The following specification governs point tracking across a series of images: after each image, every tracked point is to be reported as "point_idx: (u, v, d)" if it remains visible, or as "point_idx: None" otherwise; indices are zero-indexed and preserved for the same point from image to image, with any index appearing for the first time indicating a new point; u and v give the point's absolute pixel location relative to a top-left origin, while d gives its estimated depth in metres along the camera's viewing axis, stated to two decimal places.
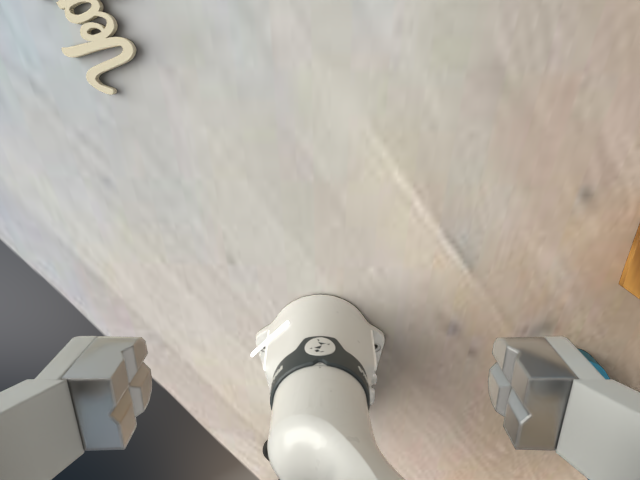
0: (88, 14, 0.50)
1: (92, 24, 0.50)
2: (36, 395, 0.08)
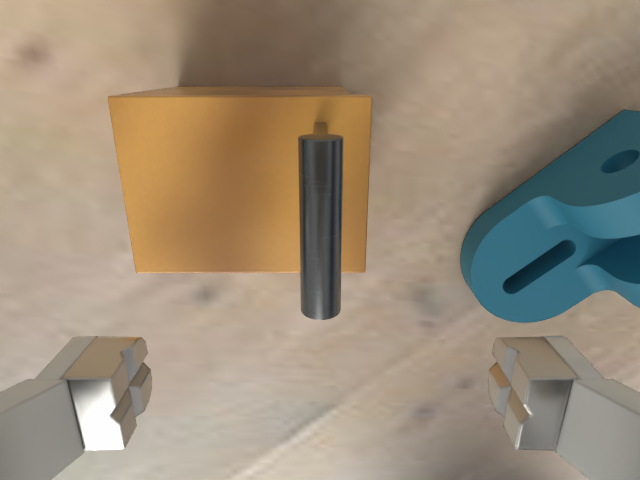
0: None
1: None
2: (36, 395, 0.08)
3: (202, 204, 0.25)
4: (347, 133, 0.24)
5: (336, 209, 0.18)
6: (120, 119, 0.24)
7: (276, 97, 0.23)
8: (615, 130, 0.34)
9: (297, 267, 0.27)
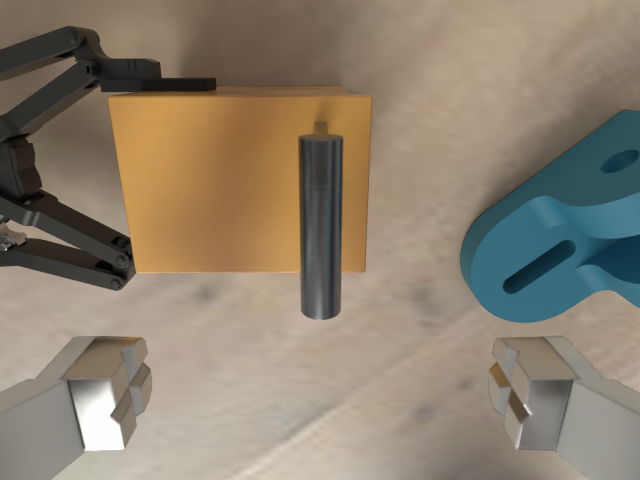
0: None
1: None
2: (36, 395, 0.08)
3: (202, 204, 0.25)
4: (347, 133, 0.24)
5: (336, 209, 0.18)
6: (120, 119, 0.24)
7: (276, 97, 0.23)
8: (615, 130, 0.34)
9: (297, 267, 0.27)
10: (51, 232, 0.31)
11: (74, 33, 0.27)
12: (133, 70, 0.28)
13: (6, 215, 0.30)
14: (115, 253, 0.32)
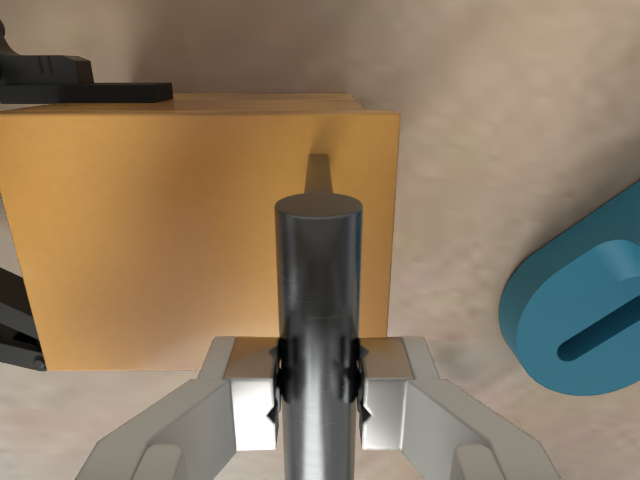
0: None
1: None
2: (206, 395, 0.08)
3: (139, 276, 0.17)
4: (361, 171, 0.15)
5: (348, 339, 0.10)
6: (3, 150, 0.15)
7: (248, 115, 0.15)
8: None
9: None
10: None
11: None
12: (48, 72, 0.19)
13: None
14: None
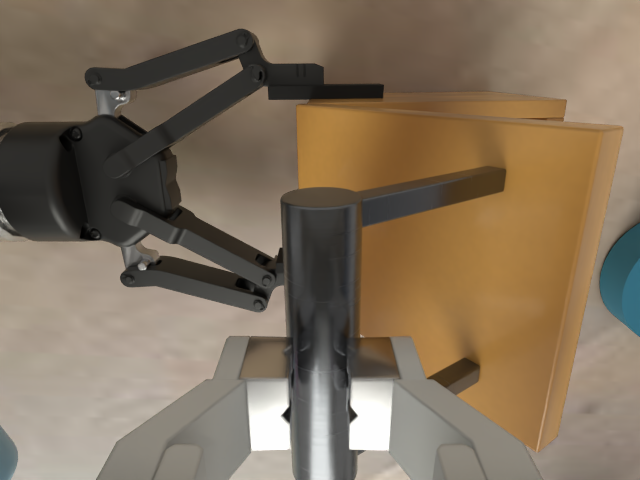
0: None
1: None
2: None
3: None
4: (541, 197, 0.12)
5: (317, 329, 0.10)
6: (302, 130, 0.21)
7: (440, 118, 0.15)
8: None
9: None
10: (195, 250, 0.29)
11: (246, 36, 0.24)
12: (302, 76, 0.26)
13: (152, 232, 0.28)
14: (261, 272, 0.29)
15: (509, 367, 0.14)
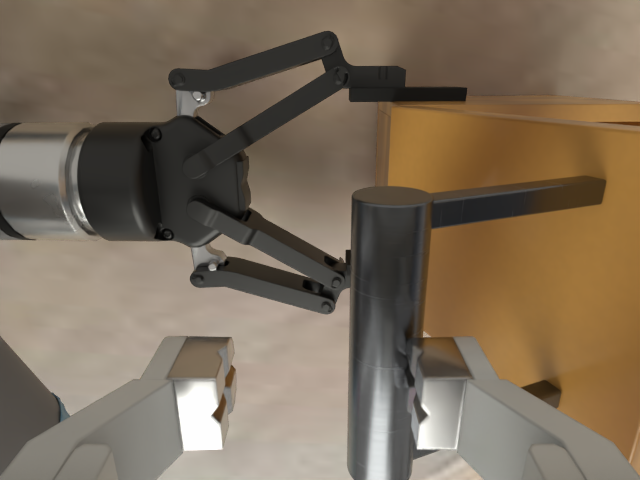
0: None
1: None
2: None
3: (436, 250, 0.20)
4: None
5: (377, 325, 0.10)
6: (395, 132, 0.21)
7: (537, 123, 0.14)
8: None
9: None
10: (267, 251, 0.29)
11: (332, 39, 0.25)
12: (383, 78, 0.26)
13: (226, 233, 0.28)
14: (332, 274, 0.29)
15: (594, 397, 0.13)
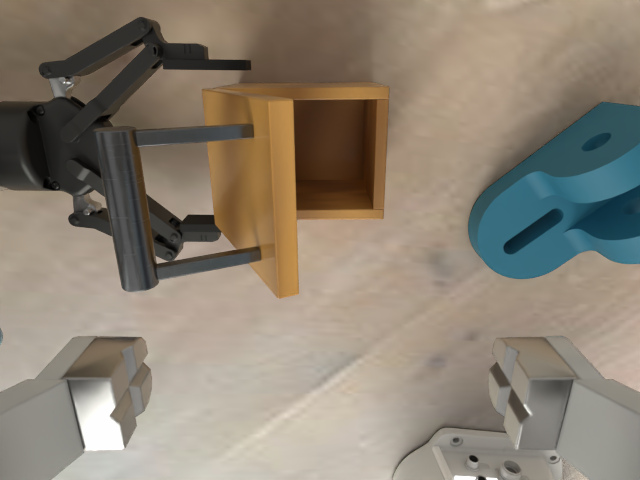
0: None
1: None
2: (36, 395, 0.08)
3: (224, 183, 0.30)
4: (261, 139, 0.22)
5: (111, 194, 0.20)
6: (205, 106, 0.32)
7: (237, 95, 0.24)
8: (594, 118, 0.42)
9: (253, 265, 0.27)
10: None
11: (144, 22, 0.34)
12: (188, 52, 0.36)
13: (94, 187, 0.38)
14: (171, 231, 0.40)
15: (266, 247, 0.24)
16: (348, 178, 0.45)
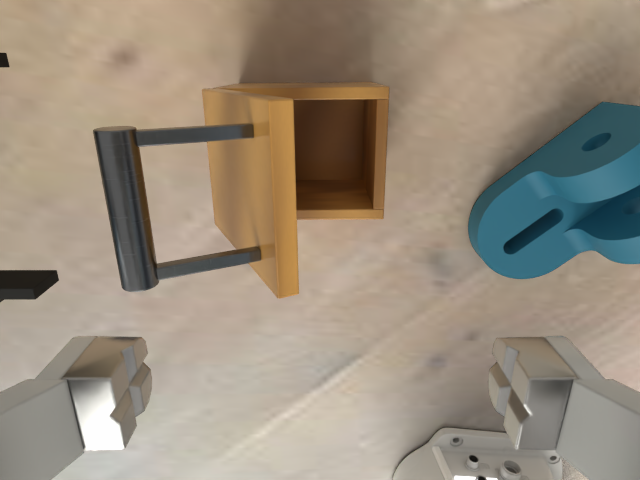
0: None
1: None
2: (36, 395, 0.08)
3: (224, 182, 0.30)
4: (261, 139, 0.22)
5: (111, 194, 0.20)
6: (205, 106, 0.32)
7: (237, 95, 0.24)
8: (594, 118, 0.42)
9: (253, 265, 0.27)
10: None
11: None
12: None
13: None
14: None
15: (266, 247, 0.24)
16: (348, 178, 0.45)
